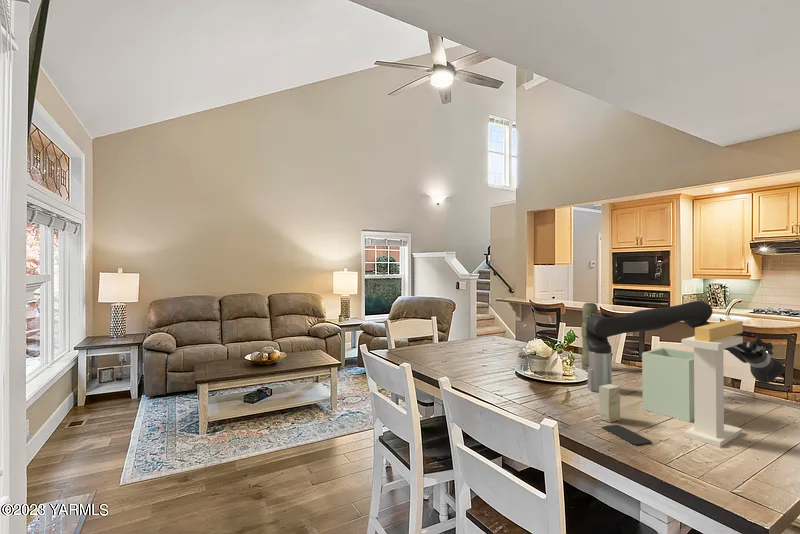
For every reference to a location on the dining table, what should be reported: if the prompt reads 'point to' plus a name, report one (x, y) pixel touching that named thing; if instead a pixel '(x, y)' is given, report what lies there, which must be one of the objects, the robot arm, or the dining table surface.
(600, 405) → the skincare box
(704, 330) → the box
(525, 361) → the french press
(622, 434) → the phone
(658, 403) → the tote
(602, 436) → the dining table surface
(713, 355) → the shelf stand
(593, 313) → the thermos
